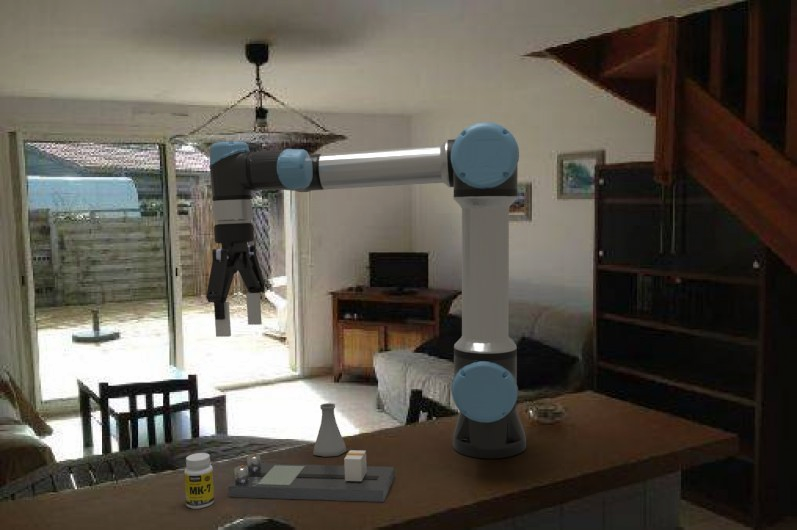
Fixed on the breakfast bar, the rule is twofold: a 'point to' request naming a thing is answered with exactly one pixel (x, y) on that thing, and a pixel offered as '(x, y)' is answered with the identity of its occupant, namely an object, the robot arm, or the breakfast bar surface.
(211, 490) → the supplement bottle
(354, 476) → the fader
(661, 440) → the breakfast bar surface
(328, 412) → the flask
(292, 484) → the console
